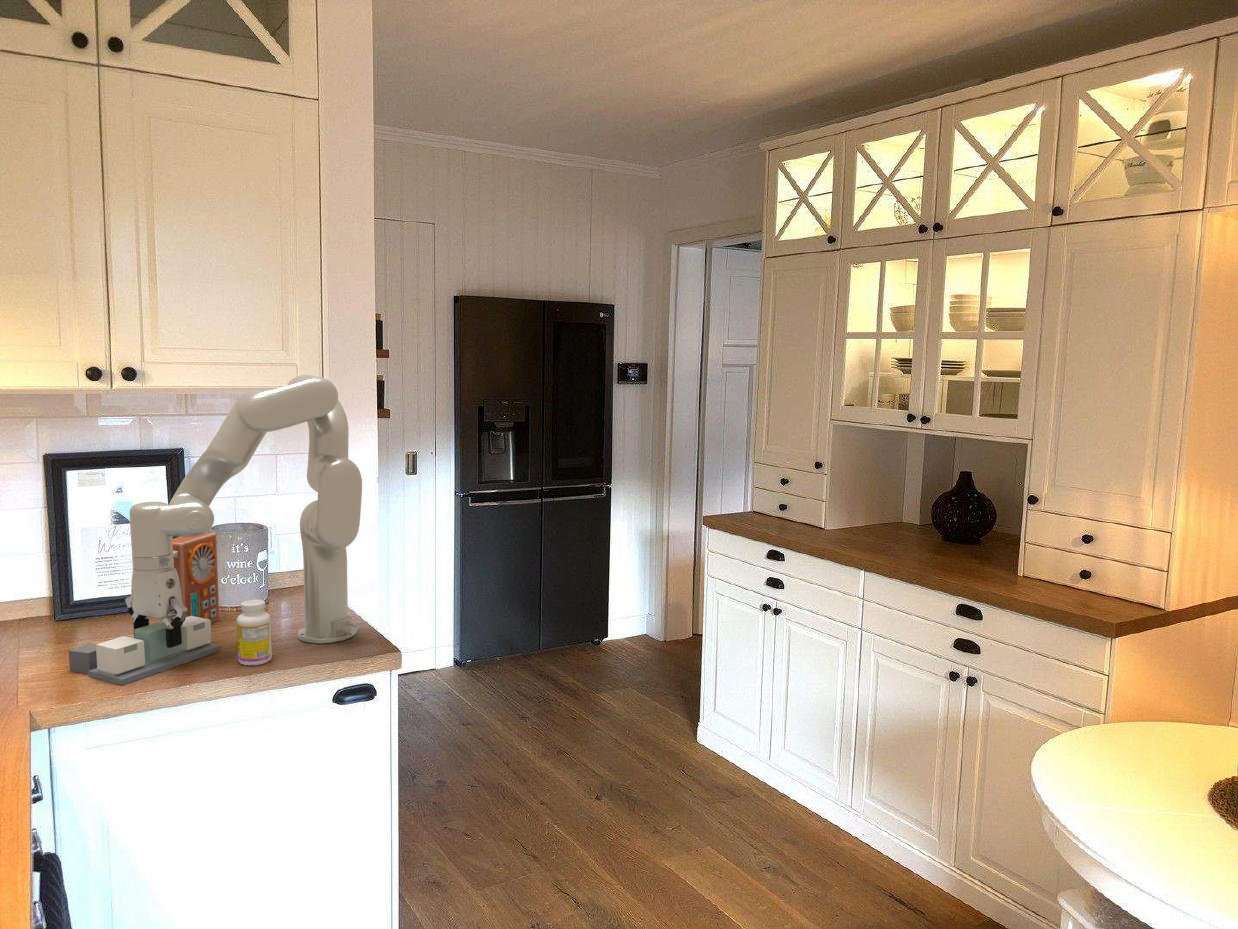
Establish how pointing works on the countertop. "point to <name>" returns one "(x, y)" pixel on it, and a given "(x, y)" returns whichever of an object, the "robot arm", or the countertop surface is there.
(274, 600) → the countertop surface
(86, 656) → the block
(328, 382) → the robot arm
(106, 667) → the mounted modules
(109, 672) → the rail
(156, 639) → the module
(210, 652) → the board
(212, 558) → the control panel
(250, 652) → the supplement bottle
